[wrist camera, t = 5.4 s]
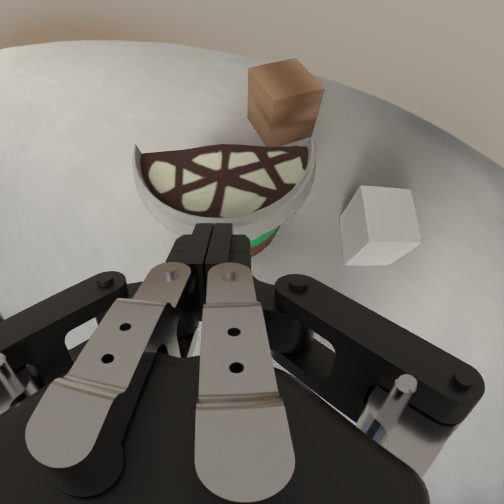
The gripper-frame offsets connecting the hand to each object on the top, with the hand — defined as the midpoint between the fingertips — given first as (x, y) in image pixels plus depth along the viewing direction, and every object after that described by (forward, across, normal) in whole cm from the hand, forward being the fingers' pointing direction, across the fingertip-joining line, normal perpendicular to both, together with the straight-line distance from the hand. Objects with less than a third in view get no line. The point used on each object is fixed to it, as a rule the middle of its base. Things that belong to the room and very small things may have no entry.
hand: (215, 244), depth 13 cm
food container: (+13, 0, +6) cm, 14 cm away
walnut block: (+22, -5, -4) cm, 22 cm away
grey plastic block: (+12, -12, +6) cm, 18 cm away
